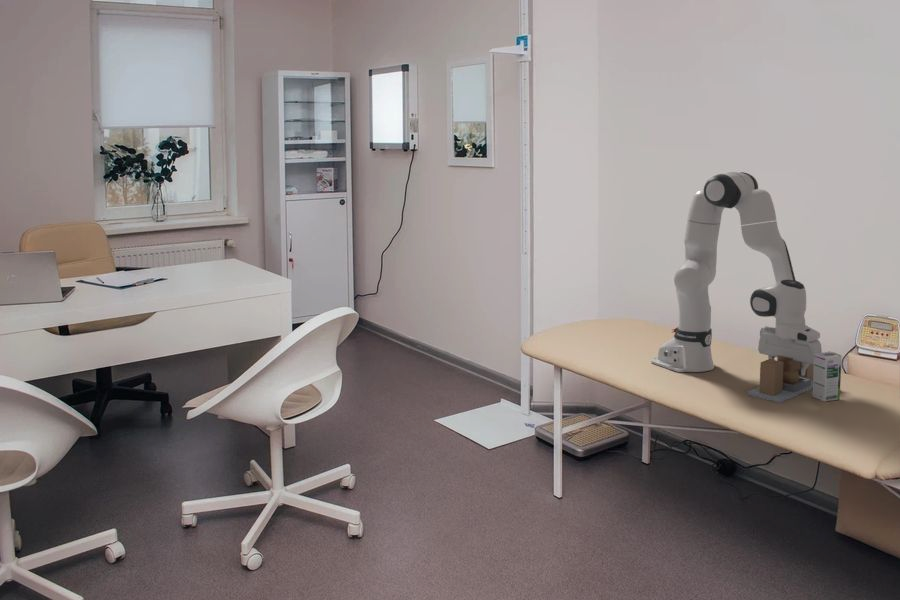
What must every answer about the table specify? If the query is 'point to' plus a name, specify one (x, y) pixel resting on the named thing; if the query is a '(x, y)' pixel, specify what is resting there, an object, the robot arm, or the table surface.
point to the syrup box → (827, 376)
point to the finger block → (789, 370)
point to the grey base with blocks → (780, 382)
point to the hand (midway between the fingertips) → (787, 371)
